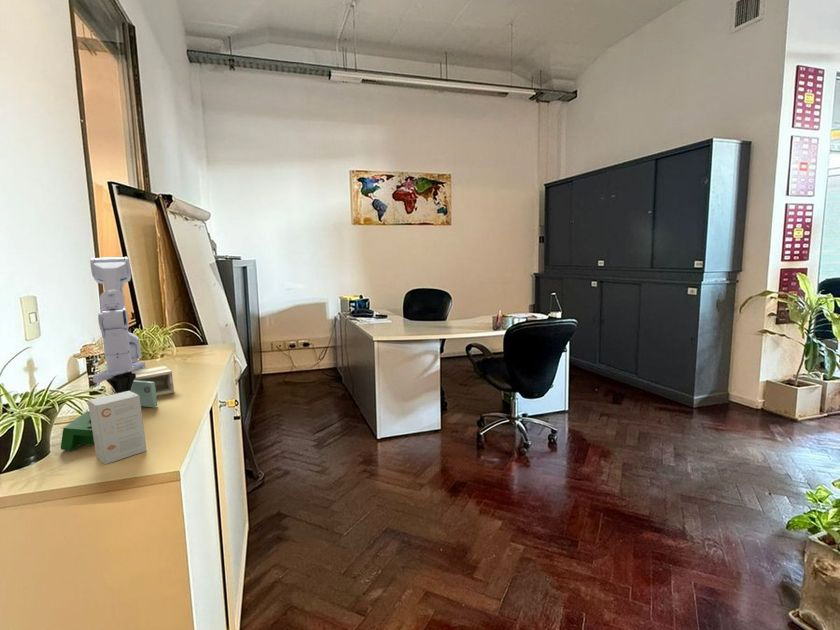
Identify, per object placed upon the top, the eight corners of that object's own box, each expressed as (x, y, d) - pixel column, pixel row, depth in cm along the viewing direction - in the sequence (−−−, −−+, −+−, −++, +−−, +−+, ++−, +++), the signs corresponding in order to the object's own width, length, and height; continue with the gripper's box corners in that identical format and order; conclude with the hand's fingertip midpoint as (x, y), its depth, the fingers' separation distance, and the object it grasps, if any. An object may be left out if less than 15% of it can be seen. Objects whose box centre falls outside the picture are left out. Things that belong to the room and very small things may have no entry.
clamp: (92, 464, 103) (90, 436, 99) (62, 462, 101) (59, 433, 97) (115, 427, 113) (114, 400, 109) (88, 424, 111) (86, 397, 107)
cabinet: (117, 395, 140) (114, 374, 139) (166, 385, 149) (164, 365, 148) (122, 403, 133) (119, 380, 132) (174, 392, 142) (171, 371, 141)
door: (122, 402, 132) (119, 379, 131) (157, 406, 128) (154, 381, 127) (117, 404, 131) (113, 380, 130) (152, 408, 126) (149, 383, 125)
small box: (137, 444, 103) (130, 389, 101) (147, 451, 98) (140, 394, 97) (95, 457, 96) (87, 399, 95) (104, 465, 92) (95, 405, 91)
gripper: (105, 359, 114) (112, 410, 116) (151, 347, 128) (157, 392, 130) (83, 358, 116) (91, 408, 118) (131, 347, 130) (137, 391, 132)
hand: (124, 400), depth 124 cm, fingers closed
